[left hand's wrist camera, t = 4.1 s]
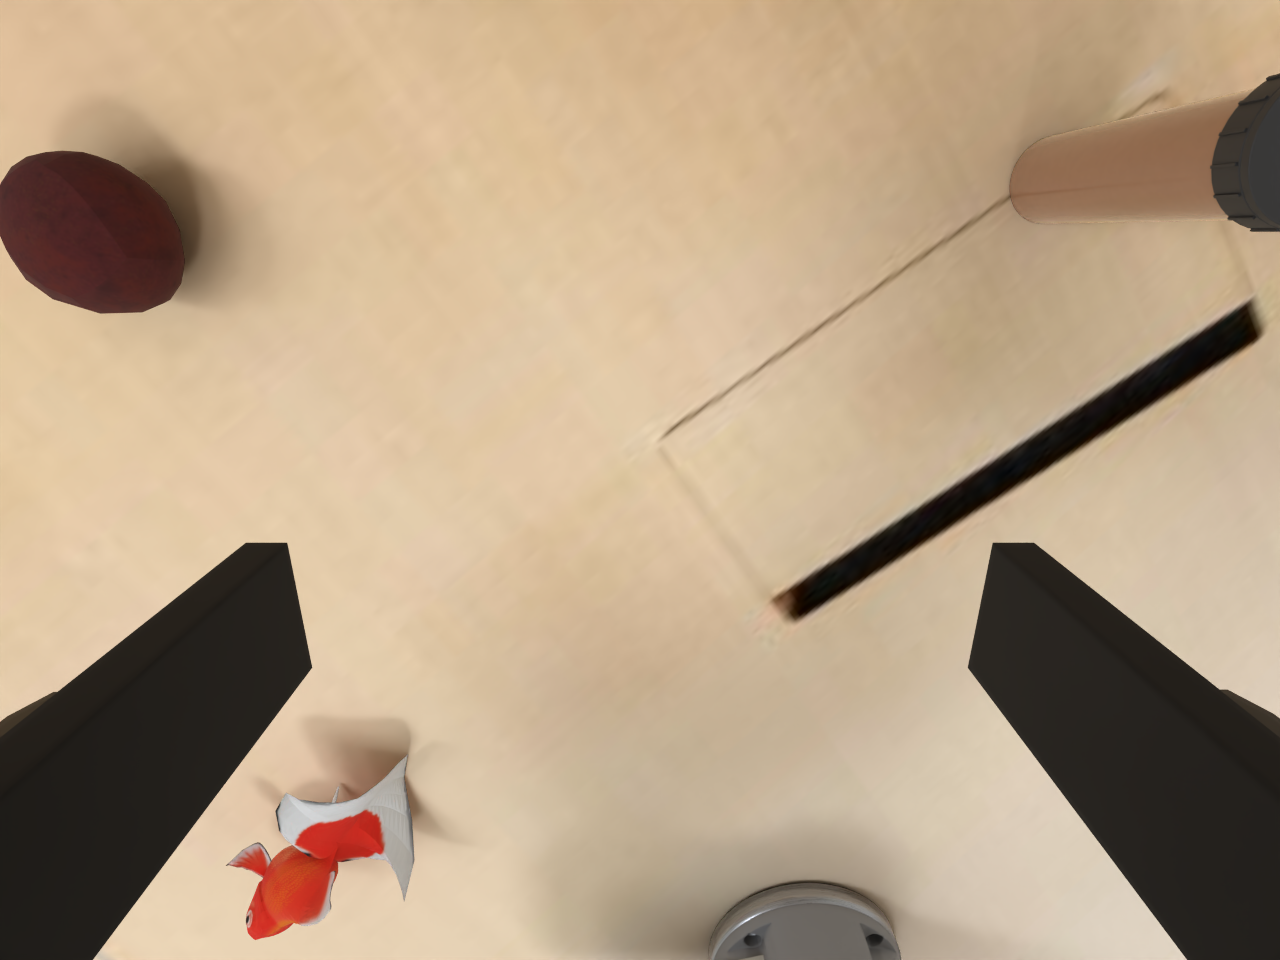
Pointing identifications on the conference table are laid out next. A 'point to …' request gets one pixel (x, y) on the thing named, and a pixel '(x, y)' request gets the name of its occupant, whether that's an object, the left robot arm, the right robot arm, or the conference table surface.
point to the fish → (327, 852)
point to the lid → (1251, 160)
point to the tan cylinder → (1126, 168)
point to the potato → (90, 233)
